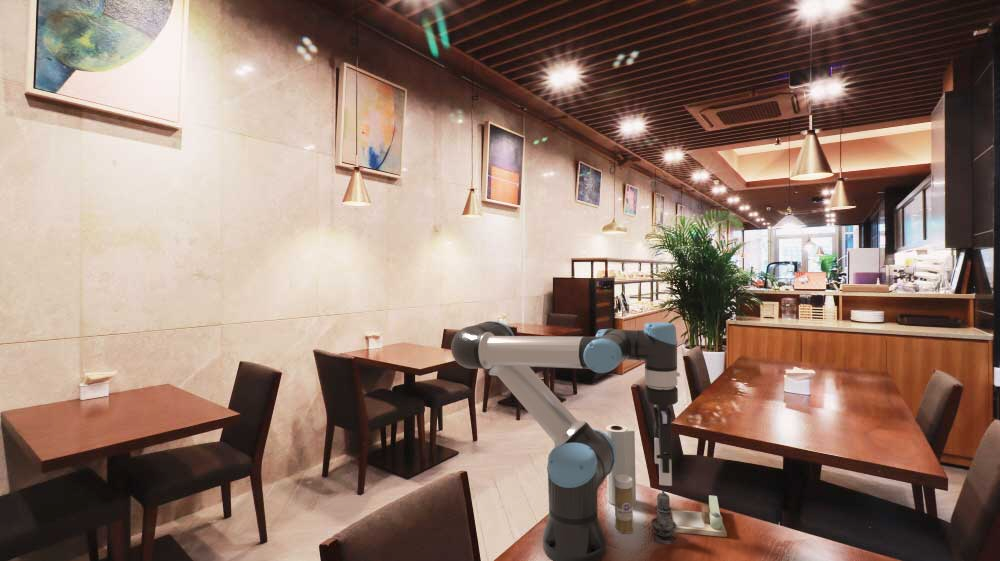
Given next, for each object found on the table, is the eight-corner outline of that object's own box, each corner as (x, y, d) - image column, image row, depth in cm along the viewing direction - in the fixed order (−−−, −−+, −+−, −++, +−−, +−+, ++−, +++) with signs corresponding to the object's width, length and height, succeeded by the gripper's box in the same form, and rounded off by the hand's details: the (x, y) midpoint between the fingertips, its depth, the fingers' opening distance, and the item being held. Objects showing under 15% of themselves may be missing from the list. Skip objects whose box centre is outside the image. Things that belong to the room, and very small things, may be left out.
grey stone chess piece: (678, 545, 113) (677, 496, 113) (653, 543, 114) (652, 495, 114) (674, 532, 119) (673, 485, 118) (650, 530, 120) (649, 483, 120)
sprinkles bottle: (621, 536, 118) (620, 483, 117) (611, 526, 122) (610, 475, 122) (637, 532, 119) (636, 479, 119) (626, 522, 124) (625, 472, 123)
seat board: (675, 532, 119) (674, 515, 118) (670, 513, 127) (670, 498, 127) (726, 537, 116) (726, 520, 116) (718, 517, 125) (718, 502, 124)
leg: (722, 529, 116) (722, 517, 116) (710, 527, 117) (710, 515, 117) (718, 505, 128) (718, 494, 128) (707, 503, 129) (707, 492, 129)
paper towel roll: (603, 498, 137) (601, 425, 136) (620, 494, 139) (618, 422, 138) (618, 510, 130) (617, 433, 129) (636, 505, 132) (634, 430, 132)
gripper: (684, 400, 103) (686, 498, 104) (671, 374, 126) (672, 455, 127) (649, 398, 105) (650, 495, 105) (642, 374, 128) (643, 453, 128)
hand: (662, 473), depth 116 cm, fingers open, 11 cm apart
